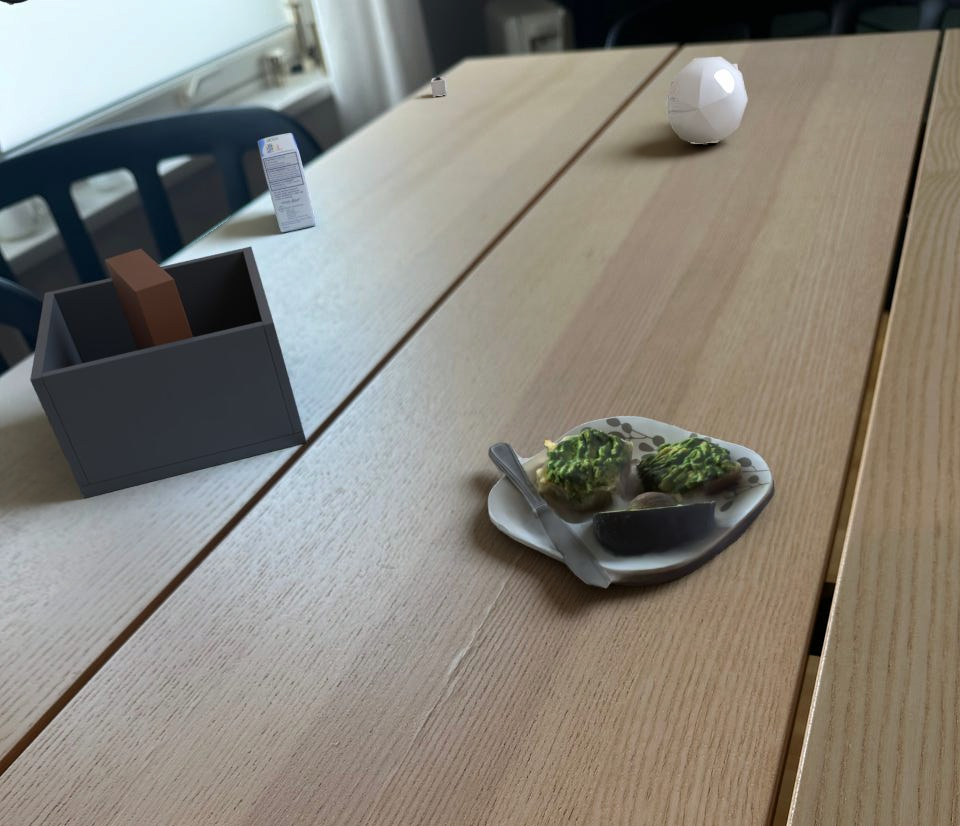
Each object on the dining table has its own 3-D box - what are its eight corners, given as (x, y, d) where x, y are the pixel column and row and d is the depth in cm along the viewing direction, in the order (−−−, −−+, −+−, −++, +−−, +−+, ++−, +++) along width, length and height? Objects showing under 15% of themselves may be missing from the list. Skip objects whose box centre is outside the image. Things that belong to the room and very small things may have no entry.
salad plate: (413, 521, 70) (401, 463, 67) (582, 410, 78) (578, 355, 75) (635, 630, 58) (633, 567, 55) (805, 487, 67) (811, 425, 64)
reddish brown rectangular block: (186, 436, 82) (134, 291, 74) (155, 396, 88) (104, 259, 80) (221, 423, 83) (173, 278, 75) (188, 385, 89) (140, 248, 81)
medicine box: (317, 226, 119) (299, 148, 114) (280, 234, 119) (260, 156, 113) (310, 206, 125) (293, 131, 120) (275, 214, 125) (255, 138, 119)
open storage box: (83, 498, 78) (29, 379, 72) (89, 400, 91) (44, 292, 85) (306, 442, 80) (273, 322, 74) (281, 354, 93) (251, 246, 87)
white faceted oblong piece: (686, 170, 121) (708, 146, 133) (757, 114, 116) (774, 94, 127) (641, 102, 119) (668, 84, 130) (711, 41, 113) (733, 28, 124)
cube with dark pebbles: (446, 96, 158) (443, 78, 157) (433, 98, 159) (430, 80, 157) (447, 92, 160) (445, 74, 158) (434, 94, 160) (431, 76, 158)
